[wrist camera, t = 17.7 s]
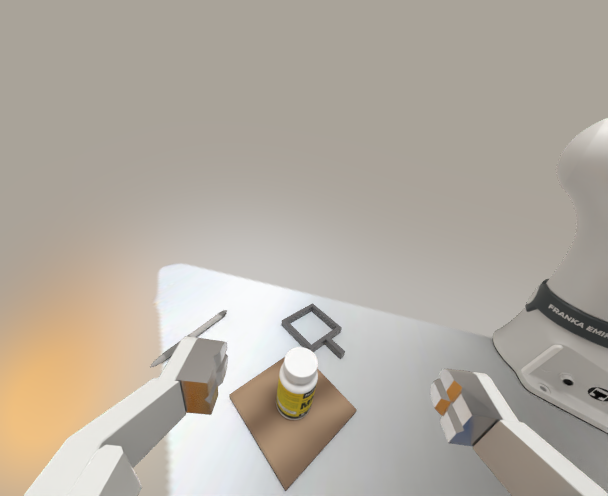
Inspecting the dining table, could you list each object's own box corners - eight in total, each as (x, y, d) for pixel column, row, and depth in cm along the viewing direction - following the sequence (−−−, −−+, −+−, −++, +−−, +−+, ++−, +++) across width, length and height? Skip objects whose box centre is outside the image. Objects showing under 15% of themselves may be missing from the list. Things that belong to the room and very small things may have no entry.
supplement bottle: (301, 429, 30) (310, 389, 25) (268, 408, 31) (272, 368, 27) (316, 394, 33) (327, 354, 29) (287, 377, 35) (292, 338, 31)
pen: (228, 315, 45) (228, 309, 44) (153, 373, 34) (151, 366, 34) (224, 313, 45) (224, 307, 45) (149, 369, 35) (147, 362, 34)
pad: (355, 412, 33) (356, 409, 32) (285, 490, 25) (286, 488, 25) (297, 350, 40) (297, 348, 40) (229, 397, 32) (229, 394, 32)
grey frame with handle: (355, 345, 42) (357, 341, 42) (326, 370, 37) (327, 365, 37) (311, 307, 49) (312, 303, 48) (281, 325, 44) (282, 320, 44)
